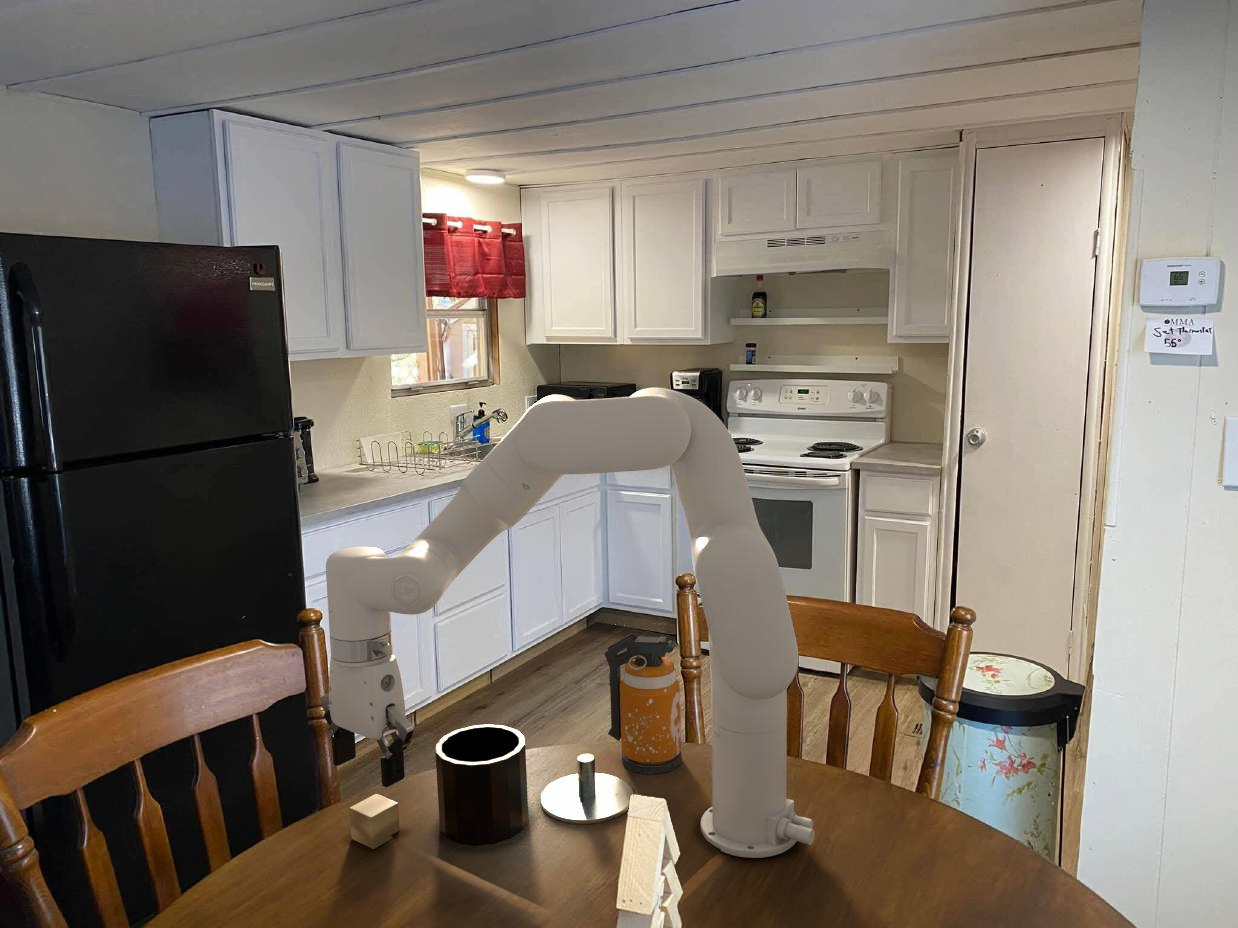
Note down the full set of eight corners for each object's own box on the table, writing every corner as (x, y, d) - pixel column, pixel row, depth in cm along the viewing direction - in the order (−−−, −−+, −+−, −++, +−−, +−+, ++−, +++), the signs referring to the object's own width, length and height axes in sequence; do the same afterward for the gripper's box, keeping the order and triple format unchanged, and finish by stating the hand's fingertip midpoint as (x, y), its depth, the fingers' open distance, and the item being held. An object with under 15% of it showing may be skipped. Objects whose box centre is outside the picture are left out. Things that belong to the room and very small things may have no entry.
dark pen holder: (546, 818, 123) (542, 737, 121) (485, 859, 113) (480, 773, 112) (484, 794, 129) (480, 717, 128) (422, 831, 120) (416, 749, 119)
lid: (651, 796, 128) (650, 751, 127) (595, 838, 117) (594, 790, 116) (580, 772, 135) (578, 729, 134) (522, 809, 125) (519, 764, 124)
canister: (676, 780, 132) (674, 648, 129) (602, 774, 134) (598, 644, 131) (684, 751, 141) (682, 627, 138) (614, 746, 143) (611, 624, 140)
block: (400, 833, 120) (398, 802, 119) (373, 849, 116) (371, 817, 116) (378, 823, 122) (376, 793, 122) (351, 838, 119) (349, 807, 118)
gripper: (430, 650, 113) (436, 779, 116) (343, 624, 123) (350, 743, 126) (382, 668, 107) (389, 804, 110) (294, 640, 118) (303, 764, 120)
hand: (368, 771), depth 118 cm, fingers open, 9 cm apart
